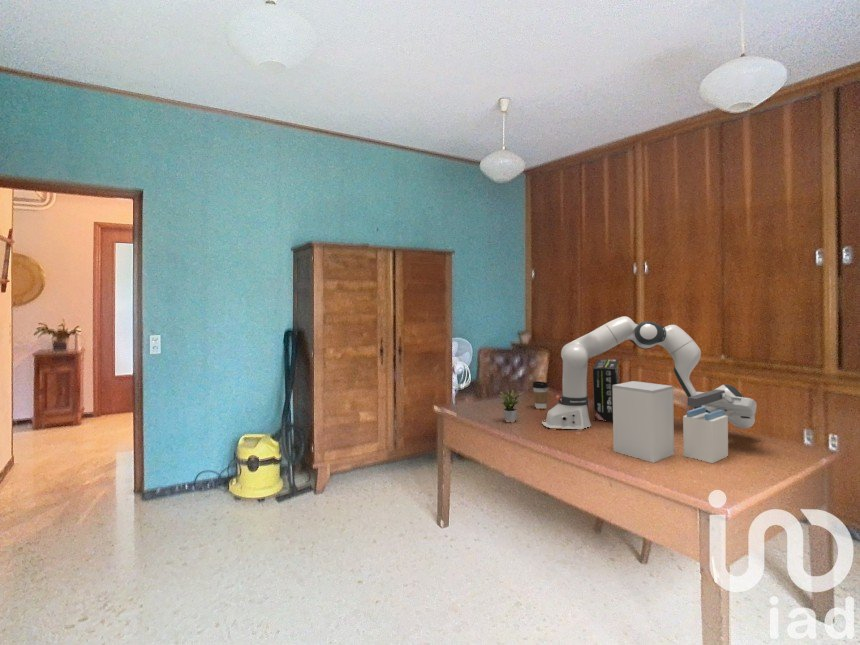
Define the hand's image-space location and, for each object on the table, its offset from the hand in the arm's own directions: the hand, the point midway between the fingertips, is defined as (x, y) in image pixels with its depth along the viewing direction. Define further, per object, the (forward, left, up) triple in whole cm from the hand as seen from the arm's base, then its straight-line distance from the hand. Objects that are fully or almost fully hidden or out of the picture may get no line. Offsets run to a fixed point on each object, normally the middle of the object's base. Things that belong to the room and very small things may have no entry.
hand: (715, 394), depth 170 cm
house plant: (-72, +47, -22) cm, 89 cm away
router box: (-21, +62, -22) cm, 69 cm away
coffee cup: (-53, +75, -22) cm, 94 cm away
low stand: (-7, -5, -22) cm, 24 cm away
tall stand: (-27, -1, -22) cm, 35 cm away
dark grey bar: (-6, -4, -2) cm, 7 cm away
